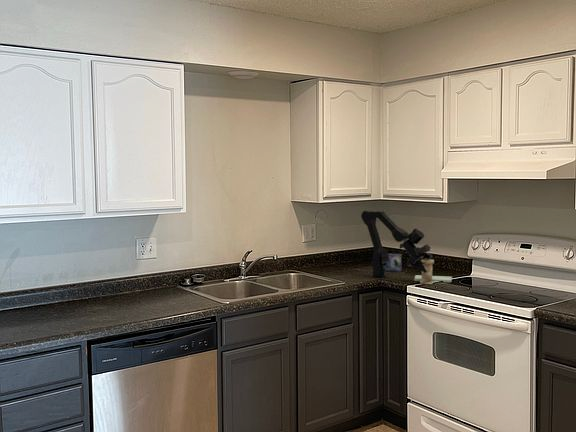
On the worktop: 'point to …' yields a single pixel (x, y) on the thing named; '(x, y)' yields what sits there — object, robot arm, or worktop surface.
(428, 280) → the tan turned knob
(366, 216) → the robot arm
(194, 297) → the worktop surface
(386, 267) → the small box
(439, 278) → the board
